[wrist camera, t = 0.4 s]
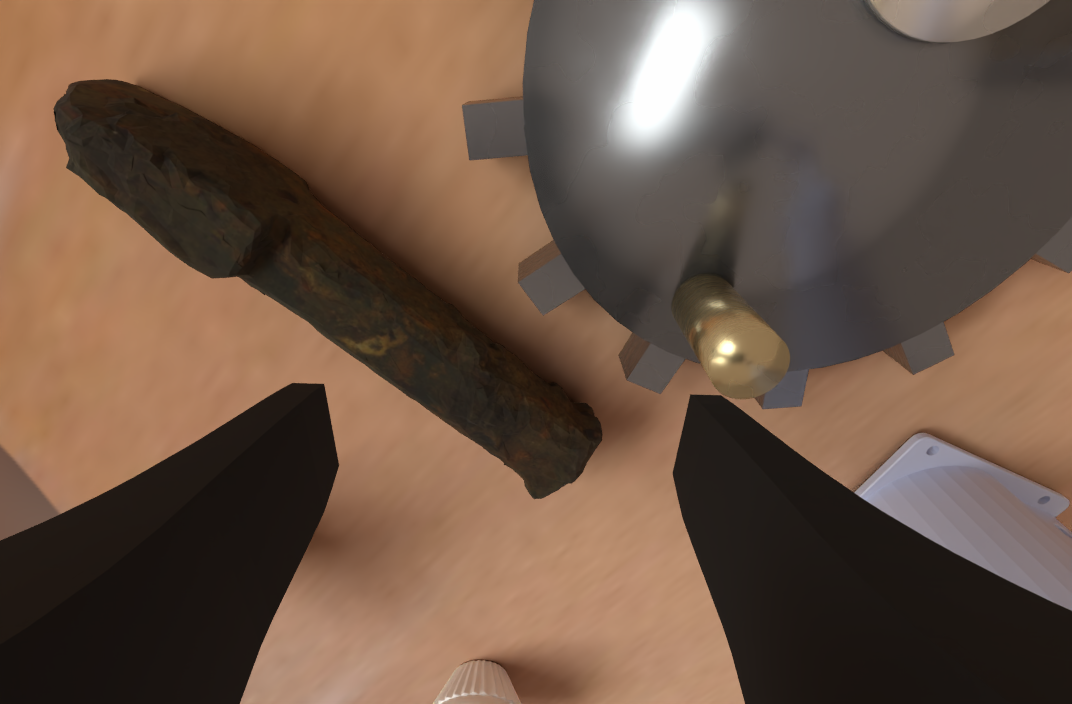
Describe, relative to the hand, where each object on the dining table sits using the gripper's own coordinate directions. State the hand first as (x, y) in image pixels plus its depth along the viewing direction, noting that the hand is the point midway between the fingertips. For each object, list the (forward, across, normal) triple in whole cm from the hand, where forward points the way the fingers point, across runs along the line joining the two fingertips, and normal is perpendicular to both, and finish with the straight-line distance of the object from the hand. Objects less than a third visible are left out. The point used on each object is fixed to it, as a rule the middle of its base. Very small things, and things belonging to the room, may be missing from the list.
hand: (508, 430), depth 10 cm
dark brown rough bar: (+10, +5, +1) cm, 11 cm away
